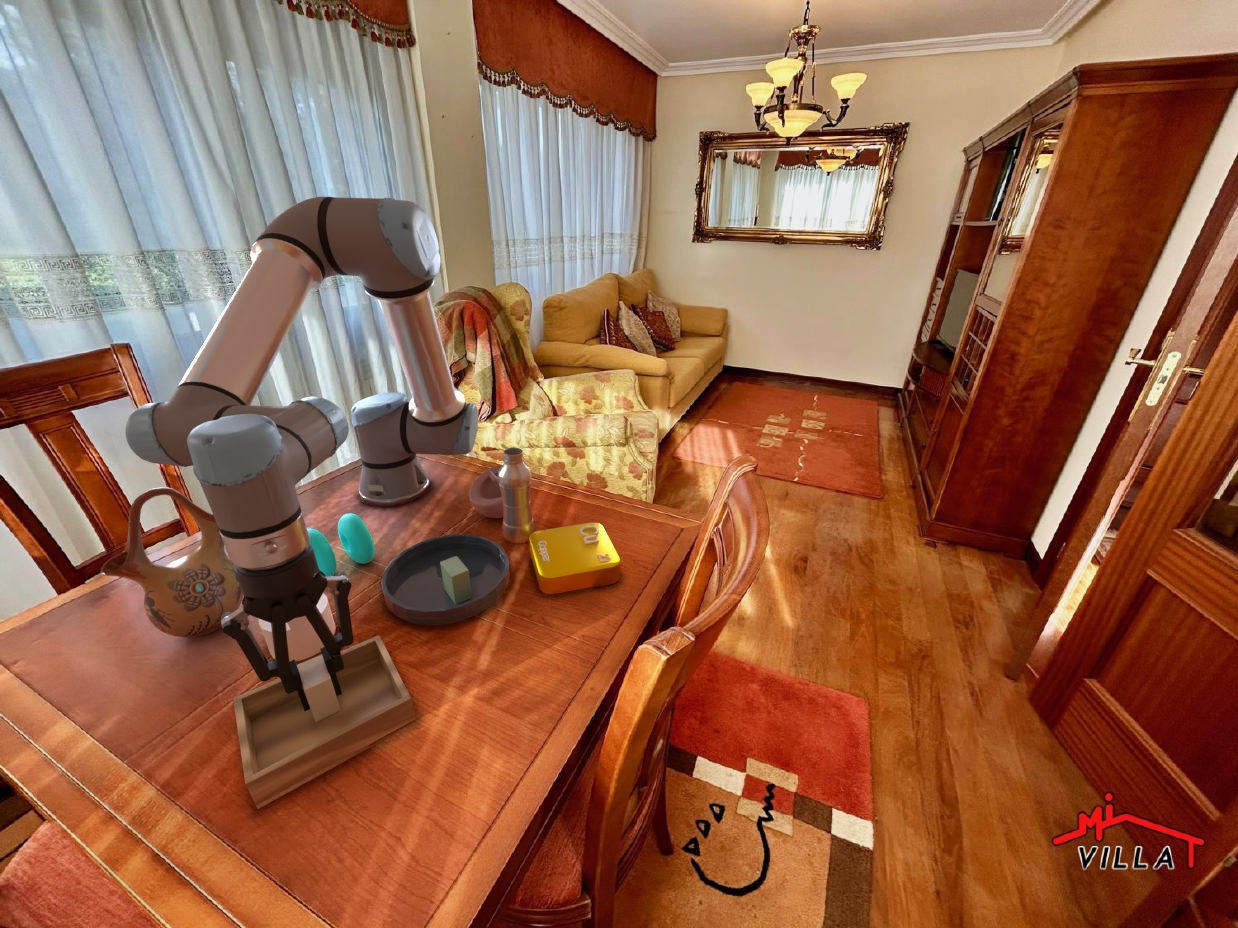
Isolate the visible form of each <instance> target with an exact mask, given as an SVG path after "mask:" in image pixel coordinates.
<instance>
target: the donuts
mask: <svg viewBox="0 0 1238 928" xmlns="http://www.w3.org/2000/svg"><path fill="white" fill-rule="evenodd" d="M307 530H308V534H309V538H310V540H309V542H310V543H311V544H312V547H313V551H314V554H315V557H316V561H317V564H318V567H319V570H320V571H322V572H323V573H324V574H325V576H335V574H336V572H337V559H336V555H335V552H334V550H333V548H332V546H331V544H330V542H329V540H328V538H327V537H326V536H325V534H323V533H322V532H321V531H319V530H318V529H315V528H312V527H309V528H308V527H307ZM337 534H338V538H339V541H340V543H341V546H342V548H343V550H344V551H345V553H346V554H347V556H348V558H349V559H351V560H352V561H354V562H355V563H357V564H360V565H365V564H368V563H371V562H372V561H373V560H374V558H375V554H376V549H375V544H374V540H373V537H372V535H371V532H370V530H369V527H368V526H367V525H366V522H365V521H364V520H363V519H362V518H361V517H360V516H359V515H358V514H356V513H352V512H349V513H345V514H343V515H342V516H341V517H340V519H338V523H337Z"/></svg>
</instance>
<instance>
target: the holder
mask: <svg viewBox="0 0 1238 928" xmlns="http://www.w3.org/2000/svg"><path fill="white" fill-rule="evenodd" d="M340 652H341V657H342V660H343V663H344V669H343V670H340V671H338V672H336V676H337V679H338V682H339V685H340V688H341V692H342V694H341V695H339V696H337V699H338V703H339V706H340V709H341V710H340V711H338V712H336V713H334V714H332V715H330V716H328V717H326V718H324V719H322V720H320V721H318V722H315V720H314V717H313V714H312V711H311V709H309V710H307V711H304V708H303V705H302V703H301V700H300V697H299V695H298V692H297V691H294V692H292V693H290V694H287V693H286V692H285V689H284V687H283V684H282V682H281V679H280V678H279V677H278V678H277V679H274V680H271V681H269V682H267V683H264V684H263V685H261V686H259V687H256V688H254V689H252V690H249V691H246V692H245V693H242V694H240V695H237V696H235V697H233V698H232V699H233V701H232V702H233V707H234V714H235V720H236V727H237V728H236V729H237V734H238V735H237V736H238V741H239V749H240V756H241V762H242V771H243V778H244V783H245V787H246V789H247V791H248V792H249V795H250V797H251V798H252V800H253V803H254V805H255V806H256V808H257V810H259V809H261V808H263V807H265V806H267V805H268V804H270V803H272V802H274V801H275V800H277V799H279V798H281V797H283V796H285V795H286V794H288V793H290V792H292V791H295V790H296V789H297V788H299V787H301V786H303V785H305V784H306V783H308V782H310V781H313V780H314V779H315V778H317V777H319V776H321V775H323V774H324V773H326V772H328V771H330V770H332V769H334V768H336V767H337V766H339V765H341V764H344V763H345V762H346V761H348V760H350V759H352V758H354V757H355V756H358V755H359V754H361V753H363V752H364V751H366V750H368V749H370V748H372V747H373V746H376V745H377V744H379V743H381V742H383V741H385V740H386V739H388V738H390V737H392V736H394V735H395V734H397V733H399V732H401V731H402V730H405V729H406V728H408V727H410V726H412V725H413V724H416V723H417V720H416V713H415V709H414V705H413V702H412V701H413V700H412V698H411V696H410V693H409V691H408V690H407V687H406V685H405V684H404V682H403V680H402V677H401V675H400V674H399V671H398V670H397V668H396V666H395V663H394V661H393V659H392V657H391V655H390V653H389V651H388V650H387V647H386V645H385V643H384V641H383V639H382V637H381V636H380V634H379V635H376V636H373V637H371V638H369V639H367V640H364V641H362V642H360V643H357V644H355V645H353V646H349V647H347V648H346V649H343V650H341V651H340Z"/></svg>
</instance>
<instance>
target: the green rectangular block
mask: <svg viewBox="0 0 1238 928" xmlns="http://www.w3.org/2000/svg"><path fill="white" fill-rule="evenodd" d="M440 565H441V571H442V577H443V584H444V589H445V591H446V592H447V593H448V595H449V596H450V598H451V599H452V600H453V602H454V603H455V604H459V603H461V602H463V601H465V600H468V599H470V598H472V593H471V585H470V577H469V570H468V569H467V568H466V566H465V565H464V564H463V563H462V562H461V560H460V559H459V558H458V557H457V556H455V557H452V558H449V559H447V560H444V561H441V562H440Z"/></svg>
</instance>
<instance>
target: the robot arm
mask: <svg viewBox="0 0 1238 928" xmlns="http://www.w3.org/2000/svg"><path fill="white" fill-rule="evenodd" d="M439 251H440V244H439V240H438V236H437V233H436V231H435V228H434V226H433V223H432V221H431V219H430V218H429V216H428V214H427V213H426V211H425V210H424V209H423V208H422V207H421V206H419V204H417V203H415V202H413V201H409V200H404V199H396V198H392V197H384V198H383V197H382V198H378V197H377V198H376V197H375V198H373V197H334V196H315V197H311V198H307V199H304V200H302V201H299V202H297V203H295V204H293V205H292V206H290V207H287V209H285V210H284V211H282V212H281V213H280V214H279V215H278V216H276V217H275V218H274V219H273V220H272V221H270V223H268V225H266V227H265V228H264V229H263V230H262V231H261V233H260V234H259V236H258V237H257V238H256V240H255V241H254V243H253V245H252V246H251V249H250V259H251V261H252V264H251V265H250V267H249V269H248V270H247V272H246V273H245V275H244V277H243V278H242V279H241V281H240V283H239V284H238V286H237V288H236V289H235V291H234V293H233V295H232V296H231V298H230V300H229V301H228V303H227V305H226V306H225V307H224V310H223V311H222V313H221V314H220V316H219V318H218V319H217V321H216V323H215V324H214V326H213V328H212V329H211V330H210V333H209V334H208V336H207V338H206V339H205V341H204V343H203V344H202V345H201V347H200V349H199V351H198V352H197V354H196V355H195V357H194V359H193V360H192V362H191V363H190V366H189V367H188V368H187V370H186V372H185V373H184V375H183V377H182V378H181V380H180V382H179V383H178V386H177V388H175V390H174V392H173V393H172V395H171V397H170V398H169V400H168V401H156V402H149V403H145V404H143V405H140V406H138V408H135V409H134V410H133V411H132V412H131V413H130V414H129V416H128V417H127V420H126V423H125V431H124V433H125V438H126V439H125V440H126V442H127V444H128V446H129V448H130V449H131V451H132V452H133V453H134V454H135V455H136V456H137V457H138V458H140V459H141V460H142V461H145V462H148V463H151V464H157V465H166V466H176V467H182V468H183V467H184V468H187V467H193V468H192V469H193V470H192V471H193V475H194V476H195V478H196V479H197V481H198V482H199V484H200V487H201V489H202V491H203V494H204V496H205V499H206V501H207V504H208V506H209V508H210V510H211V513H212V515H214V518H215V520H216V523H217V526H218V528H219V532H220V535H221V537H222V540H223V542H224V549H225V550H226V553H227V556H228V558H229V559H230V561H231V562H232V563H233V564H234V571H235V573H236V576H237V578H238V581H239V584H240V586H241V589H242V591H243V594H244V595H243V599H242V602H241V605H240V606H239V608H238V609H237V610H236V611H234V612H233V613H231V612H227V613H224V614H223V615H222V616H221V625H222V627H221V630H222V631H221V632H222V633H223V634H225V635H226V636H228V637H229V638H231V639H233V640H234V641H235V642H236V643H237V644H238V646H239V648H240V650H241V651H242V653H243V654H244V656H245V658H246V660H247V661H248V663H249V664H250V666H251V668H252V669H253V671H254V672H255V674H256V676H257V678H258V679H259V681H260V682H263V683H265V682H268V681H270V680H271V679H272V678H278V679H279V678H280V679H281V682H282V684H283V687H284V689H285V692H286V693H287V694H290V693H292V692H294V691H297V692H298V695H299V697H300V700H301V703H302V705H303V708H304V711H307V710H309V709H310V706H309V703H308V700H307V697H306V695H305V692H304V689H303V685H302V680H301V677H300V673H299V670H298V667H297V665H298V664H297V661H296V662H295V659H294V660H292V661H290V662H289V653H288V644H287V635H286V623H287V622H289V621H291V620H293V619H294V618H298V617H303V616H306V618H307V619H308V621H309V622H310V623H311V625H312V627H313V628H314V630H315V632H316V633H317V635H318V637H319V638H320V640H321V642H322V643H323V645H324V647H323V648H320V650H321V652H320V653H321V655H322V656H323V659H324V662H325V665H326V668H327V670H328V673H329V675H330V678H331V681H332V684H333V687H334V690H335V693H336V696H339V695H341V694H342V692H341V688H340V685H339V682H338V679H337V676H336V672H338V671H340V670H343V669H344V663H343V660H342V657H341V651H342V649H343V648H344V647H350V646H352V644H354V640H355V639H354V632H353V625H352V618H351V609H350V604H349V603H350V602H349V595H350V593H351V589H352V585H353V584H352V583H351V580H350V578H349V576H348V573H346V572H344V571H340V572H339V573H337V574H336V575H334V576H325V574H324V573H323V572H322V571H320V570H319V567H318V564H317V561H316V557H315V554H314V551H313V547H312V544H311V543H310V542H309V540H310V538H309V534H308V530H307V529H308V527H307V524H306V521H305V517H304V514H303V511H302V507H301V504H300V501H299V497H298V493H297V489H296V485H297V484H298V483H300V482H301V481H302V480H303V479H304V478H306V477H307V475H309V474H310V473H311V472H312V471H314V470H315V469H317V468H318V466H320V465H322V464H323V463H324V462H325V461H326V460H328V459H330V458H332V457H333V456H334V455H335V454H336V452H337V451H338V449H339V448H340V447H341V446H342V445H343V444H344V443H345V442H346V440H347V438H348V435H349V430H350V427H349V422H348V418H347V417H346V415H345V413H344V411H343V410H342V408H340V407H339V406H338V405H337V404H335V403H334V402H332V401H331V400H329V399H327V398H324V397H320V396H306V397H303V398H301V399H296V400H293V401H292V402H291V403H289V404H288V405H253V404H254V402H255V400H256V398H257V396H258V395H259V392H260V390H261V388H262V386H263V384H264V382H265V381H266V379H267V376H268V374H269V372H270V371H271V368H272V366H273V364H274V362H275V360H276V359H277V356H278V354H279V352H280V349H281V348H282V346H283V344H284V342H285V340H286V338H287V336H288V334H289V332H290V330H291V328H292V326H293V324H294V322H295V320H296V318H297V316H298V314H299V311H300V310H301V308H302V306H303V304H304V302H305V300H306V298H307V296H308V294H310V293H313V292H316V291H317V290H318V289H319V288H321V285H322V284H323V281H324V280H325V279H328V278H329V277H335V276H348V277H349V276H351V277H358V278H359V279H360V281H361V283H362V284H361V285H362V287H363V289H364V291H365V293H366V294H367V295H368V296H369V297H371V298H373V299H376V300H377V301H378V303H379V306H380V309H381V312H382V315H383V317H384V320H385V323H386V326H387V329H388V331H389V334H390V338H391V340H392V343H393V345H394V349H395V352H396V355H397V358H398V360H399V363H400V365H401V369H402V371H403V374H404V377H405V380H406V383H407V385H408V388H409V391H410V394H411V397H412V398H411V399H410V401H408V400H409V398H408V397H407V395H406V394H405V393H401V392H398V391H397V392H396V391H394V392H393V391H392V392H384V393H379V394H374V395H371V396H368V397H365V398H363V399H360V400H358V401H357V402H356V403H354V405H352V407H351V411H350V413H351V421H352V424H351V425H352V427H353V431H354V435H355V440H356V444H357V449H358V453H359V456H360V461H361V472H360V479H359V485H358V493H359V497H360V500H361V501H362V502H363V503H365V504H367V505H370V506H375V507H394V506H395V507H396V506H400V505H404V504H408V503H410V502H413V501H416V500H418V499H419V498H421V497H423V496H424V495H425V494H426V493H427V492H428V490H429V488H430V481H429V477H428V475H427V473H426V471H425V470H424V468H423V466H422V464H421V463H420V461H419V459H418V457H417V455H437V456H438V455H439V456H440V455H441V456H458V455H459V456H460V455H464V456H465V455H467V454H469V453H471V452H472V450H473V449H474V447H475V444H476V439H477V434H478V425H479V410H478V407H477V405H476V404H474V403H471V402H468V403H467V402H466V398H465V395H464V394H463V393H462V391H460V390H459V389H458V388H456V387H455V384H454V381H453V378H452V374H451V370H450V367H449V363H448V359H447V356H446V355H447V354H446V352H445V348H444V344H443V341H442V336H441V333H440V328H439V326H438V322H437V318H436V315H435V310H434V306H433V303H432V300H431V296H430V292H429V291H430V290H431V288H432V287H433V286H434V284H435V278H436V277H437V276H438V274H439V272H440V268H441V255H440V252H439ZM326 588H328V590H329V592H330V594H331V595H332V597H333V602H334V609H335V616H336V622H337V628H338V633H337V634H335V635H333V634H332V632H331V631H330V629H329V627H328V625H327V624H326V622H325V620H324V618H323V617H322V615H321V613H320V612H319V610H318V608H317V606H316V605H317V603H318V602H319V600H320V598H321V596H322V594H323V593H324V592H325V590H326ZM249 616H251V617H254V618H257V619H261V620H264V621H267V622H269V623H271V628H272V636H273V644H274V652H275V659H274V660H273V661H269V659H268V658H267V656H266V655H265V653H264V651H263V650H262V648H261V646H260V644H259V642H258V640H257V639H256V637H255V636H254V634H253V632H252V631H251V628H250V626H249V625H250V619H249Z"/></svg>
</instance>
